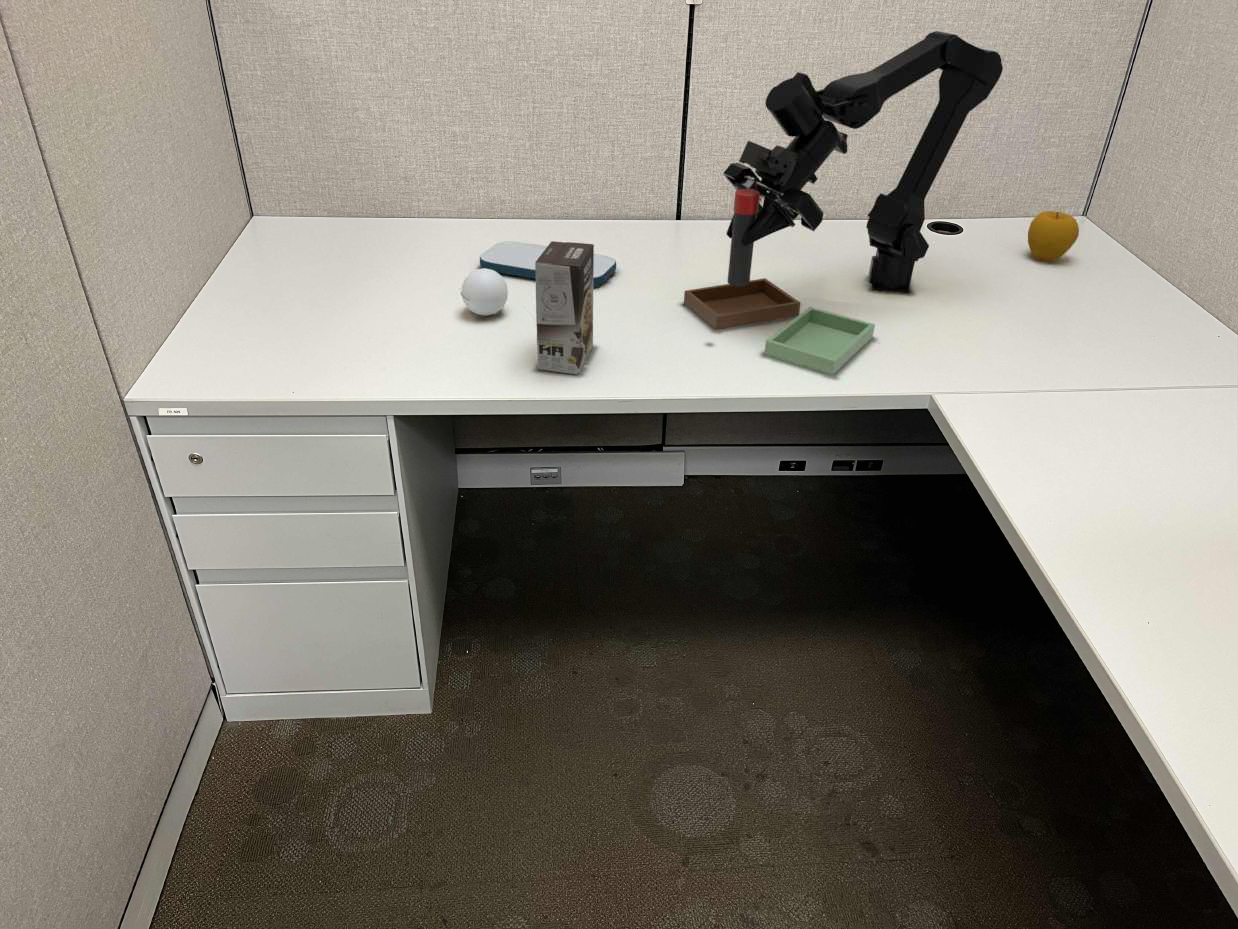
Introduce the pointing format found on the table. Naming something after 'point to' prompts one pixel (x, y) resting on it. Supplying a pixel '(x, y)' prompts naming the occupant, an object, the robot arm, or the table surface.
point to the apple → (1052, 235)
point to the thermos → (742, 220)
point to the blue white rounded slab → (523, 257)
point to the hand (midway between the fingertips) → (735, 240)
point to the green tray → (819, 340)
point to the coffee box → (564, 306)
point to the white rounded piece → (484, 292)
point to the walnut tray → (741, 304)
